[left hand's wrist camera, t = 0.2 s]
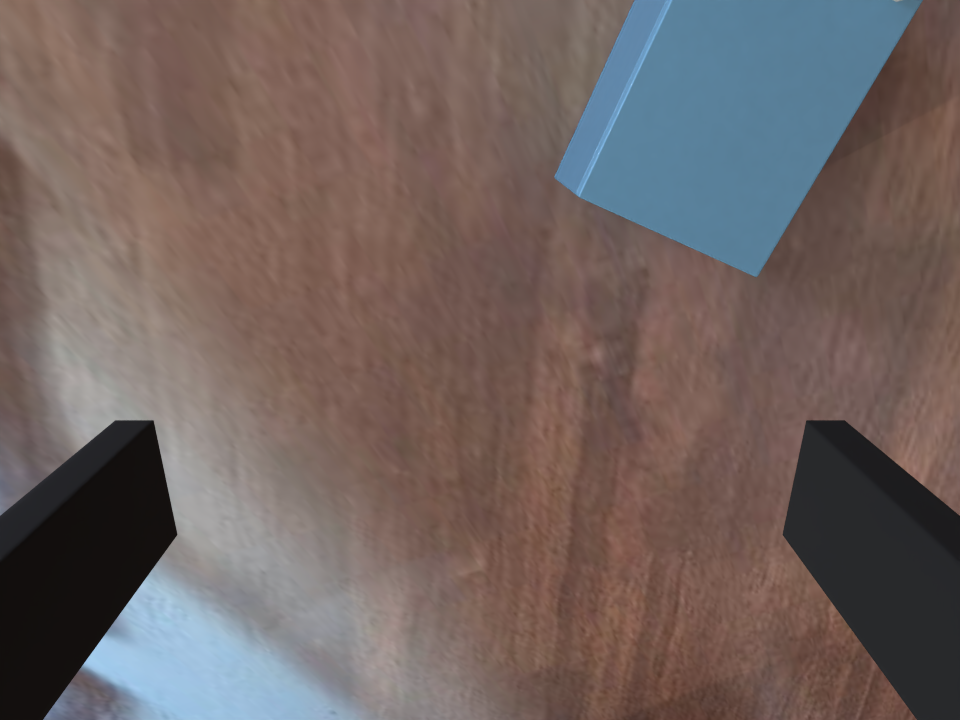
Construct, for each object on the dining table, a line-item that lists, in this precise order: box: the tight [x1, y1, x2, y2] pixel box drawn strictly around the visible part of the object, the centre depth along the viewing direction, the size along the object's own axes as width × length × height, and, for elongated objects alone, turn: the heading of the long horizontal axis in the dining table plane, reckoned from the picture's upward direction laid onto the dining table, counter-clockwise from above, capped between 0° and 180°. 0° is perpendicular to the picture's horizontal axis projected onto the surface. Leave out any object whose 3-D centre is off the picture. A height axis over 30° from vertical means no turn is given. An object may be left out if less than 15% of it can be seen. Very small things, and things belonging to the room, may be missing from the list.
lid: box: [576, 0, 923, 277], centre depth 23 cm, size 15×10×8 cm, turn 157°
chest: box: [555, 0, 667, 194], centre depth 32 cm, size 14×10×9 cm
